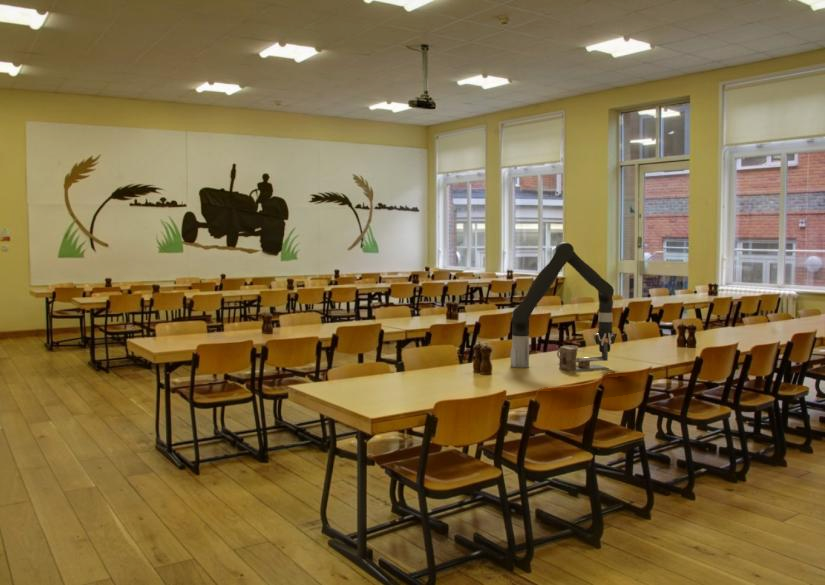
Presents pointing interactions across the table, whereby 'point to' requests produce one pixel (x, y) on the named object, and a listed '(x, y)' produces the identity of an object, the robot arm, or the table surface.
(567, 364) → the grey upright block
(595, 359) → the hook rod
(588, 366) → the saddle
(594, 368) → the mat
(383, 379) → the table surface
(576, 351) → the mug
